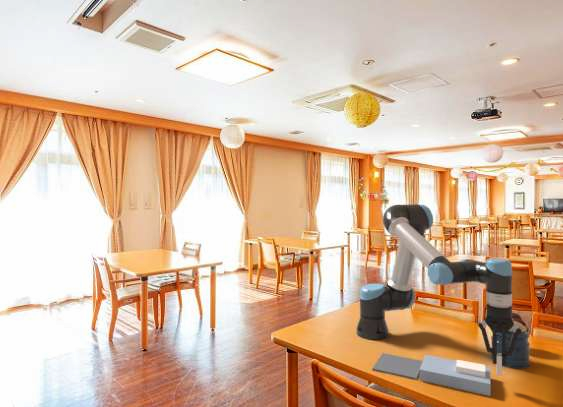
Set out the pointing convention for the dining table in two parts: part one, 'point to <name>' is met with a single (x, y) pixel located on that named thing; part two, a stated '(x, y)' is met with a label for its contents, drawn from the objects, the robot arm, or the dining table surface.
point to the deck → (453, 375)
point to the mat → (398, 366)
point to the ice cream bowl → (518, 320)
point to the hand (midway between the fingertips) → (499, 373)
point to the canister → (515, 348)
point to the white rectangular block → (470, 368)
